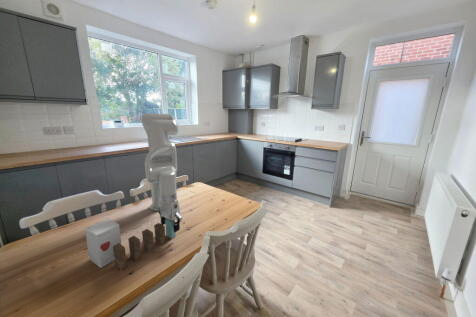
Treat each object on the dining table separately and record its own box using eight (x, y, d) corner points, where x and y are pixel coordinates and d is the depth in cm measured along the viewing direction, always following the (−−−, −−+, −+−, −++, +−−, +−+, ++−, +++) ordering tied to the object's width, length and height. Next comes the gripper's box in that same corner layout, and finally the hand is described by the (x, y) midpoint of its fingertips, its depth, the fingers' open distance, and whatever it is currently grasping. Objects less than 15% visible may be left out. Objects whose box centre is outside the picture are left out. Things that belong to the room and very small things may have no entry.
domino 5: (170, 233, 98) (169, 217, 96) (175, 236, 96) (174, 220, 94) (166, 235, 96) (165, 219, 94) (171, 238, 94) (170, 222, 92)
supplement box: (100, 269, 75) (95, 235, 72) (89, 260, 79) (83, 228, 76) (123, 254, 83) (119, 223, 79) (112, 247, 87) (107, 217, 84)
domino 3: (148, 246, 89) (147, 228, 86) (154, 249, 86) (152, 232, 84) (143, 248, 87) (142, 231, 85) (149, 252, 84) (147, 234, 82)
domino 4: (159, 239, 93) (158, 222, 91) (165, 242, 91) (164, 225, 89) (155, 241, 91) (154, 225, 89) (161, 245, 89) (160, 228, 87)
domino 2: (135, 253, 84) (133, 235, 82) (141, 257, 81) (139, 239, 79) (130, 256, 82) (128, 238, 80) (136, 261, 79) (134, 242, 77)
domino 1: (121, 262, 79) (119, 243, 77) (127, 266, 76) (124, 247, 74) (115, 265, 77) (112, 246, 75) (121, 270, 74) (118, 250, 72)
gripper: (187, 198, 90) (187, 229, 94) (163, 189, 99) (165, 218, 103) (174, 204, 84) (175, 237, 88) (150, 194, 93) (153, 224, 97)
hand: (170, 227), depth 96 cm, fingers open, 9 cm apart
